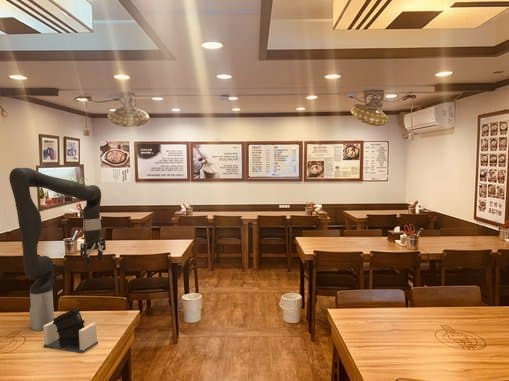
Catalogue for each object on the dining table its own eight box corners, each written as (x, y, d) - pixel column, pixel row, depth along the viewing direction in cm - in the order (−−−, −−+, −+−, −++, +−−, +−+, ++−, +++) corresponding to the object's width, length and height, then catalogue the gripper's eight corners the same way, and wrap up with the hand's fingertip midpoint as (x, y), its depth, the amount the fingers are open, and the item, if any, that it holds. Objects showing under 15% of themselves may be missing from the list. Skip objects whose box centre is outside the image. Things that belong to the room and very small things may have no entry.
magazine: (88, 342, 161) (72, 309, 161) (63, 353, 163) (47, 321, 163) (94, 338, 164) (78, 306, 164) (69, 349, 167) (54, 318, 167)
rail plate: (43, 347, 163) (43, 344, 163) (60, 337, 172) (60, 335, 172) (82, 353, 157) (82, 350, 157) (98, 343, 166) (97, 340, 166)
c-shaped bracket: (44, 344, 164) (43, 325, 163) (59, 336, 171) (58, 318, 171) (83, 350, 158) (82, 331, 157) (97, 341, 165) (96, 323, 165)
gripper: (96, 225, 189) (97, 258, 190) (74, 230, 175) (76, 266, 177) (109, 226, 187) (110, 259, 188) (88, 231, 173) (90, 267, 174)
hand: (94, 262), depth 182 cm, fingers open, 8 cm apart
